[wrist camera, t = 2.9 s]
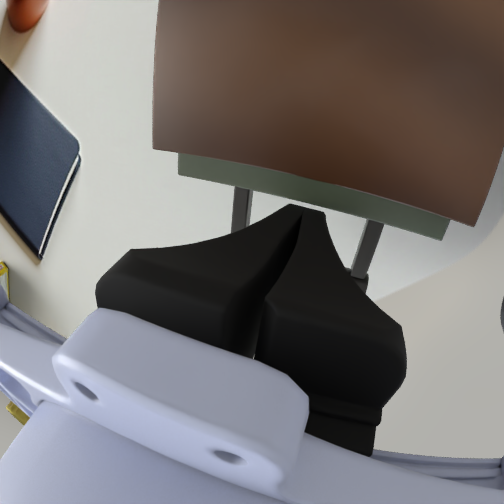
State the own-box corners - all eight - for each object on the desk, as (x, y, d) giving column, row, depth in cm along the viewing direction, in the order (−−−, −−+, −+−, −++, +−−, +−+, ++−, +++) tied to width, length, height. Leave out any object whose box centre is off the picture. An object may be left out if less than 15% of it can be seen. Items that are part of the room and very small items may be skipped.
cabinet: (433, 163, 14) (474, 228, 8) (227, 114, 16) (151, 149, 11) (467, -30, 8) (523, -74, 2) (247, -70, 10) (180, -125, 4)
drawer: (395, 252, 17) (401, 324, 12) (225, 208, 19) (178, 262, 14) (458, -5, 8) (503, -34, 4) (250, -44, 10) (197, -84, 6)
